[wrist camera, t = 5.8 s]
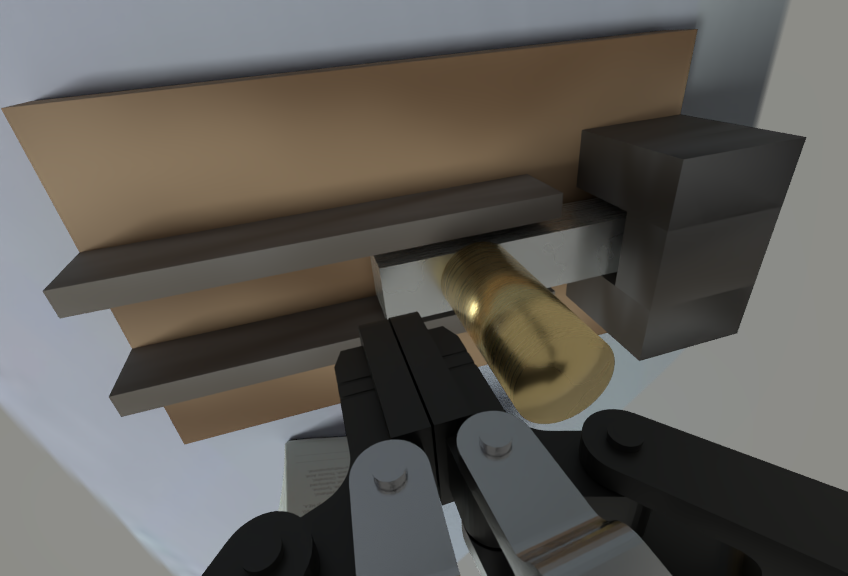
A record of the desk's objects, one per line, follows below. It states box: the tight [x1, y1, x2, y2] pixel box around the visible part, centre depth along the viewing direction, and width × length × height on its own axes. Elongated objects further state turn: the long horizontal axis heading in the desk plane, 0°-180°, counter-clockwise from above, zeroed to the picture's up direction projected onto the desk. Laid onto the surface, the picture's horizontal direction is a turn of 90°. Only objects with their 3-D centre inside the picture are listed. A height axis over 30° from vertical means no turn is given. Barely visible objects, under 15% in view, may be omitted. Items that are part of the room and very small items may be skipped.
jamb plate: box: [1, 29, 806, 444], centre depth 14 cm, size 12×20×6 cm, turn 95°
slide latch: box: [370, 197, 627, 424], centre depth 13 cm, size 2×11×7 cm, turn 95°
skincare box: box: [278, 436, 350, 517], centre depth 19 cm, size 6×6×7 cm
